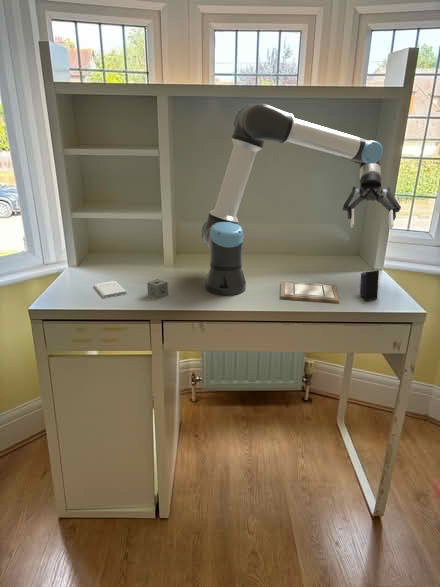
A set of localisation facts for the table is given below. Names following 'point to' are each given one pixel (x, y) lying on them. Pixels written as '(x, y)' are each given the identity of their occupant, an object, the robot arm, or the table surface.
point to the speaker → (369, 285)
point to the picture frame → (309, 292)
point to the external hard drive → (109, 289)
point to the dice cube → (157, 288)
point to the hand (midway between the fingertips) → (371, 226)
